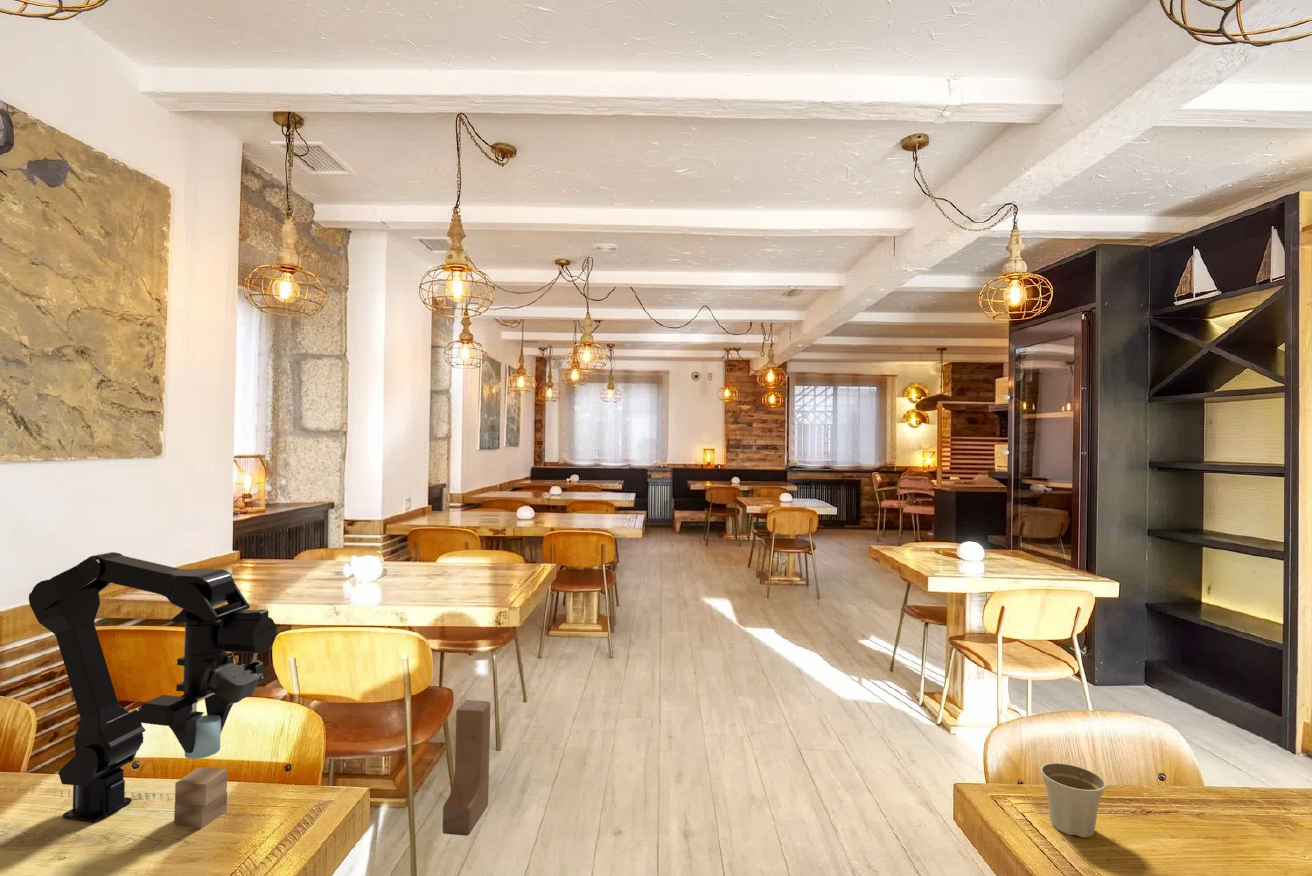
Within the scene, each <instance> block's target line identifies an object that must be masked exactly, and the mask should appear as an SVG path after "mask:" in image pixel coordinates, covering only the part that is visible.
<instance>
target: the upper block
mask: <svg viewBox="0 0 1312 876" xmlns="http://www.w3.org/2000/svg"><path fill="white" fill-rule="evenodd" d="M174 783H175V786H174V788H175V789H174V806H175V805H187V806H207V805H208V804H209V803H210V802H212V801H213V800H214V799H216V798H217V797H218V796H220V795H221V794H222V793H223V792H225V791H227V790H228V768H216V767H197V768H195V769H194V770H192V771H191V772H190V773H188V774H187V775H185V776H183V777H182V778H180V779H179V780H178V781H176V782H174Z"/></svg>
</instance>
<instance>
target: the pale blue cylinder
mask: <svg viewBox="0 0 1312 876" xmlns="http://www.w3.org/2000/svg"><path fill="white" fill-rule="evenodd" d="M221 735H222V732H221V717H220V716H218V715H202V716H201V717H200V718H199V719H198V720H197V722H196V733H195V744H194V749H193V752H192V753H186V752H185V751H184V757H185V758H186V759H191V760H194V759H195V760H197V759H205V758H207V757H210V756H213V755H215V754H217V753H218V752H219V751H221Z"/></svg>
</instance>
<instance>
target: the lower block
mask: <svg viewBox="0 0 1312 876" xmlns="http://www.w3.org/2000/svg"><path fill="white" fill-rule="evenodd" d="M227 810H228V791H227V790H226V791H225V792H223V793H222V794H221V795H220V796H218V797H217V798H216V799H214V800H213V801H212V802H210V803H209V804H208V805H207V806H187V805H175V804H174V814H173V815H174V816H173V817H174V818H173V820H174V822H173V825H174V826H178V827H184V828H185V827H187V828H194V829H203V828H205V827H206V826H208V825H210V824H211V823H212V822H213V821H215V820H216V819H218V818H220V817H221V816H222V815H224V814H225V813H227Z"/></svg>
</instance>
